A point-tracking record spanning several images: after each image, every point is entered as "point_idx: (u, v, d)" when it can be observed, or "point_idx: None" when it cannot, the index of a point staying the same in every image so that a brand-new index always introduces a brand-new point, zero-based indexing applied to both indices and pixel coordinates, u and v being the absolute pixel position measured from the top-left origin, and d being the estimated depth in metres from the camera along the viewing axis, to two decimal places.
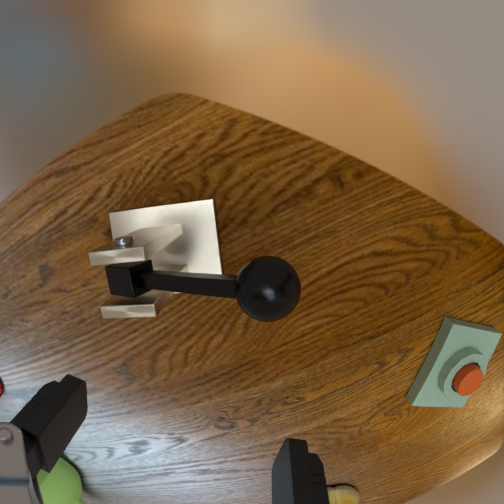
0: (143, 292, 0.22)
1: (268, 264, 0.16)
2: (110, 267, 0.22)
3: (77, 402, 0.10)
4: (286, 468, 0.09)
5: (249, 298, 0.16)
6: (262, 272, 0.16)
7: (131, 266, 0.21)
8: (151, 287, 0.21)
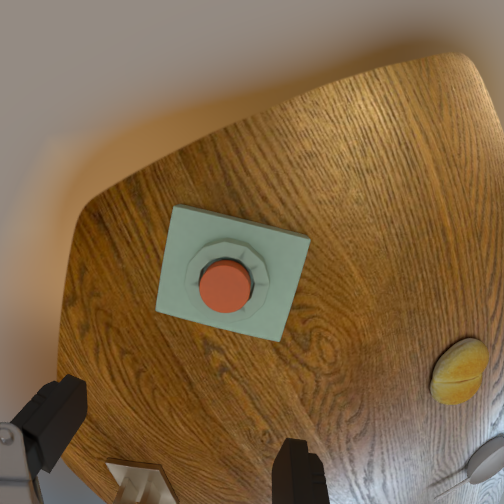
0: None
1: None
2: None
3: (77, 402, 0.10)
4: (286, 468, 0.09)
5: None
6: None
7: None
8: None
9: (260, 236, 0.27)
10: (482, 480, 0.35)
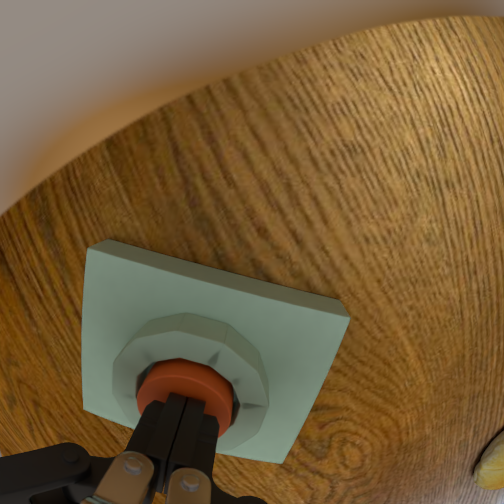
0: None
1: None
2: None
3: (181, 418, 0.11)
4: None
5: None
6: None
7: None
8: None
9: (252, 313, 0.13)
10: None
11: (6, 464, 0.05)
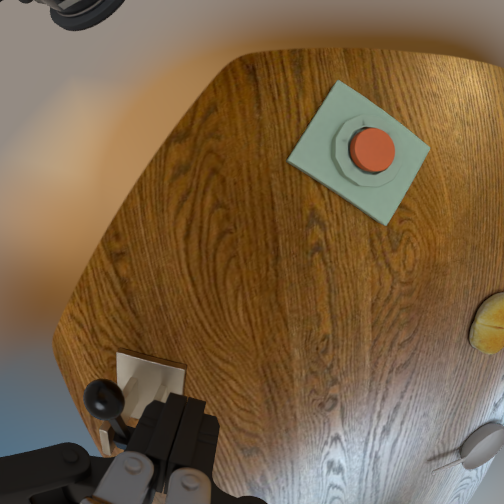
0: None
1: (83, 398, 0.21)
2: None
3: (181, 419, 0.11)
4: None
5: None
6: None
7: None
8: (124, 436, 0.27)
9: (397, 129, 0.28)
10: (471, 467, 0.39)
11: (6, 464, 0.05)
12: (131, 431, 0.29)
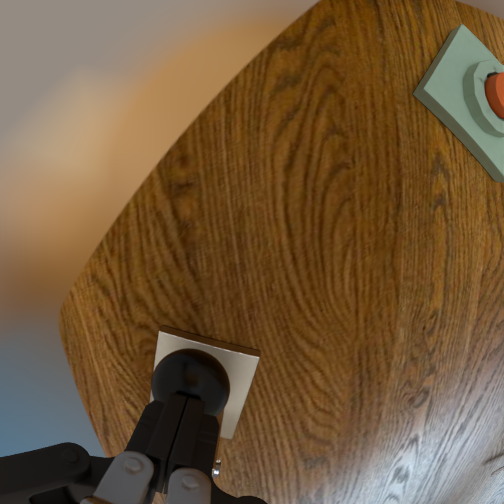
0: None
1: (152, 382, 0.13)
2: None
3: (181, 418, 0.11)
4: None
5: None
6: (155, 395, 0.12)
7: None
8: None
9: None
10: None
11: (6, 464, 0.05)
12: None
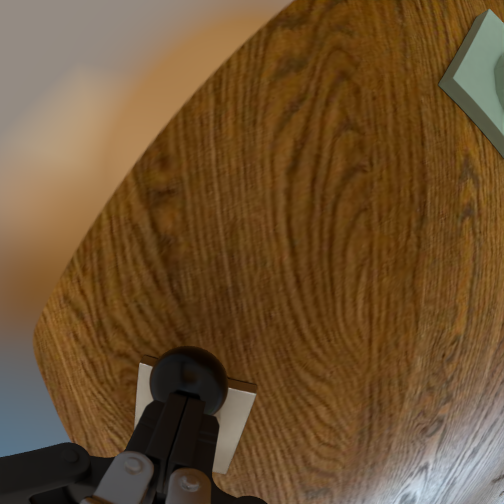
0: None
1: (152, 372, 0.13)
2: None
3: (181, 418, 0.11)
4: None
5: None
6: (155, 382, 0.12)
7: None
8: None
9: None
10: None
11: (6, 464, 0.05)
12: None
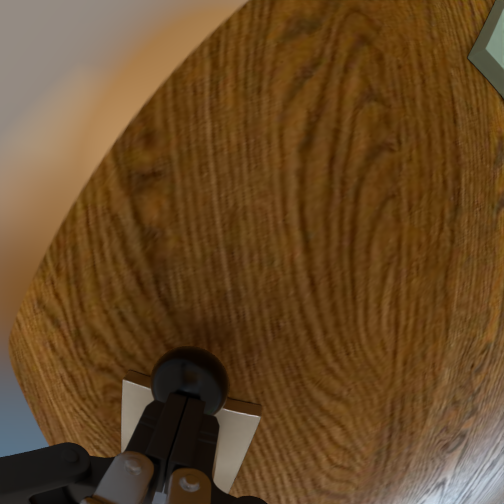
0: None
1: (155, 366, 0.13)
2: None
3: (181, 418, 0.11)
4: None
5: None
6: (158, 372, 0.12)
7: None
8: None
9: None
10: None
11: (6, 464, 0.05)
12: None
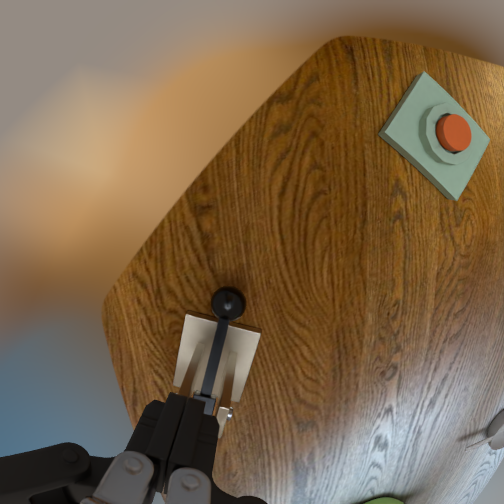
0: (214, 397, 0.29)
1: (214, 294, 0.31)
2: None
3: (181, 418, 0.11)
4: None
5: (227, 303, 0.30)
6: (216, 295, 0.31)
7: None
8: (211, 385, 0.29)
9: None
10: (495, 448, 0.40)
11: (6, 464, 0.05)
12: (211, 394, 0.30)
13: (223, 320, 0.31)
